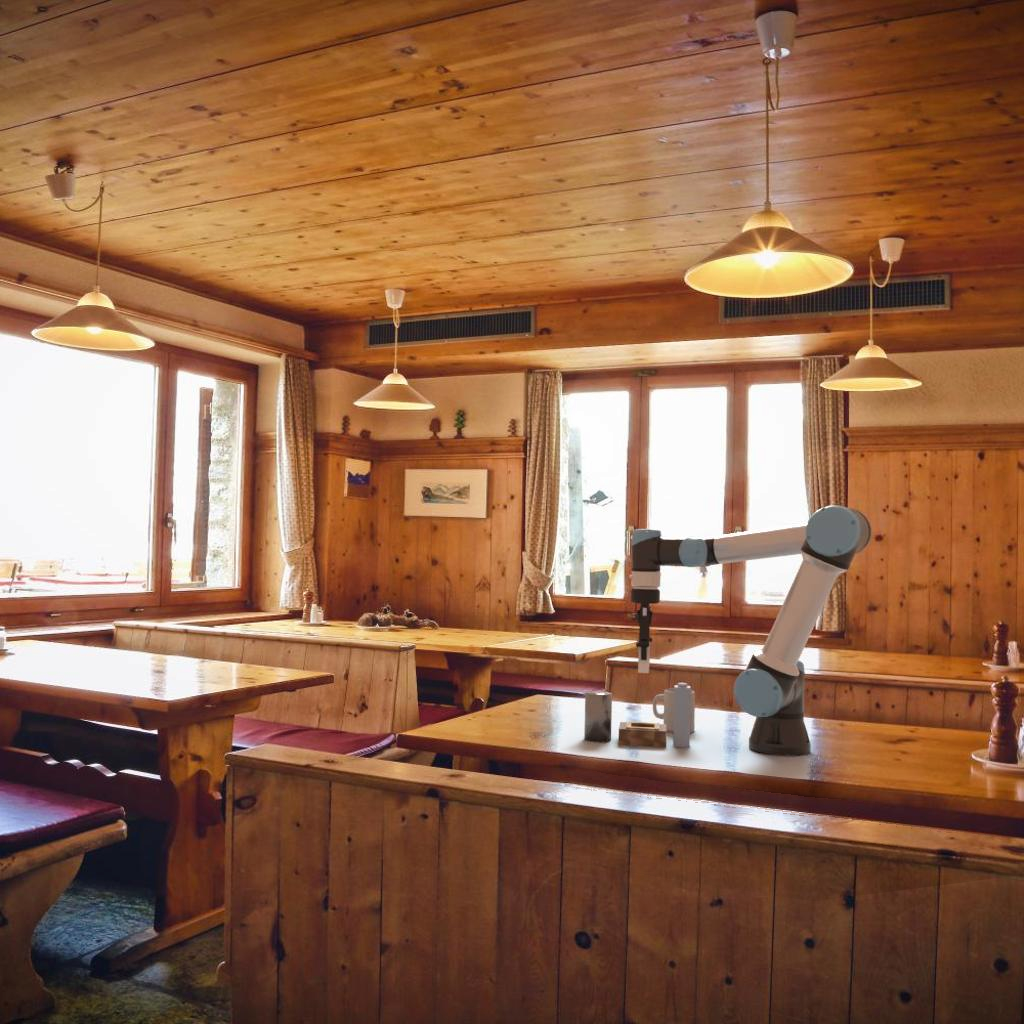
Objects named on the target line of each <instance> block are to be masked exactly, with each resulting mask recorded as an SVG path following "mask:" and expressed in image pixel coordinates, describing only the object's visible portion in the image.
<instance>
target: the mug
mask: <svg viewBox="0 0 1024 1024" xmlns="http://www.w3.org/2000/svg"><path fill="white" fill-rule="evenodd" d="M695 699H696V691H694V690H693V689H690V734H691V733H694V732H695V723H696V722H695V717H696V716H695V714H696V713H695V709H696V706H695V705H696V704H695V702H696V700H695ZM659 700H660V701H663V712H662V713H660V712H658V709H657V704H658V701H659ZM652 712H653V713H652V714H653V715H654V717H655V718H657V719H660V720H663V724H666V732H668V733H674V688H666V689H664V691H663V693H661V694H657V695H655V696H654V698H653V701H652Z"/></svg>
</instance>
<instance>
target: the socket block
mask: <svg viewBox="0 0 1024 1024" xmlns="http://www.w3.org/2000/svg"><path fill="white" fill-rule="evenodd" d="M626 721H627V720H626ZM626 721H624V722H623V721H621V722H619V727H618V745H619V746H620V745H621V746H636V747H640V746H641V747H655V748H656V747H657V748H667V731H666V724H664V723H663V724H662V723H660V722H648V721H647V722H646V721H645V722H644V721H627V722H626Z"/></svg>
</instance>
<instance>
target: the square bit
mask: <svg viewBox="0 0 1024 1024" xmlns="http://www.w3.org/2000/svg"><path fill="white" fill-rule="evenodd" d="M673 687H674V688H673V689H674V732H673V734H672V735H673V737H672V738H673V739H672V741H673V742H672V743H673V746H672V747H673V748H674V747H677V748H690V747H691V746H690V744H691V741H690V740H691V739H690V738H691V737H690V735H691V733H690V690H692V689H691V686H690V685H688V683H685V682H678V683H677V685H674V686H673Z"/></svg>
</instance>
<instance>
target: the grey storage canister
mask: <svg viewBox="0 0 1024 1024" xmlns="http://www.w3.org/2000/svg"><path fill="white" fill-rule="evenodd" d="M584 694H585V695H584V697H585V698H584V736H583V737H584V738H583V739H584V740H585V741H586V742H591V743H592V742H593V743H608V742H611V741H612V718H613V717H612V716H613V715H612V712H613V711H612V710H613V709H612V706H613V693H611V692H608V691H607V692H606V691H597V690H595V691H586V692H585V693H584Z"/></svg>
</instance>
